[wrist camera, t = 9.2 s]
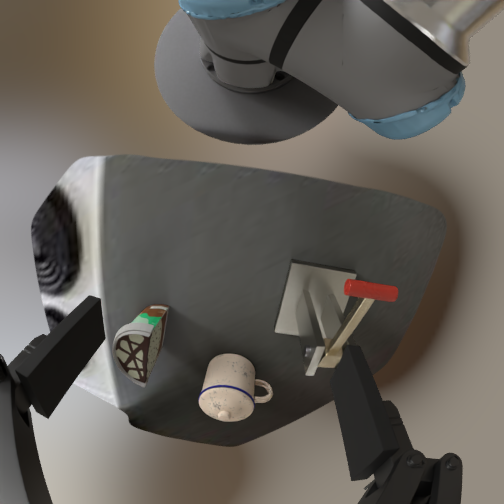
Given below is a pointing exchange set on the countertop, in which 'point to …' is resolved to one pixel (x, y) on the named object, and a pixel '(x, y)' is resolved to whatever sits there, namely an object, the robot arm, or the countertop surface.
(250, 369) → the teacup with lid
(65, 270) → the countertop surface
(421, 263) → the countertop surface
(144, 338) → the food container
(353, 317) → the lever
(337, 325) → the bracket
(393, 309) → the countertop surface
